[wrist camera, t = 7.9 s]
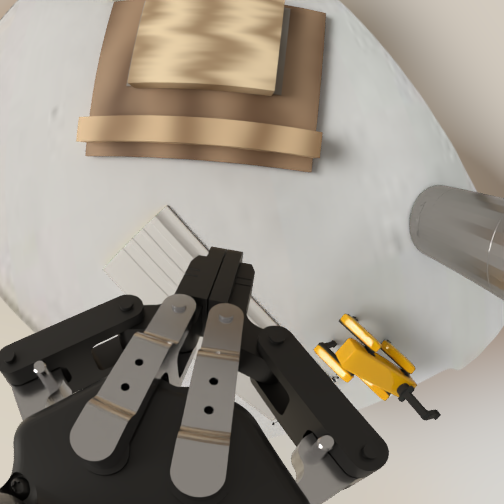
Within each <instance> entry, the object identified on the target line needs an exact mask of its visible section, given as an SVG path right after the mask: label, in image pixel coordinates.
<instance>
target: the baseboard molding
mask: <svg viewBox="0 0 504 504" xmlns="http://www.w3.org/2000/svg"><path fill="white" fill-rule="evenodd" d="M208 253H209V251H208V250H207V249H206V248H205V247H204V246H203V245H202V243H201V242H200V241H199V240H198V239H197V238H196V237H195V236H194V235H193V234H192V232H191V231H190V230H189V229H188V228H187V227H186V226H185V225H184V224H183V222H182V221H181V220H180V219H179V218H178V217H177V216H176V215H175V214H174V212H173V211H172V210H171V209H170V208H169V207H168V206H166V207H164V208H163V209H162V210H161V211H160V212H159V213H158V214H157V215H156V216H155V217H154V218H153V219H152V220H150V221H149V222H148V223H147V224H146V225H145V226H144V227H143V228H142V229H141V230H140V231H139V232H138V233H137V234H136V235H135V236H134V237H133V238H132V239H131V240H130V241H129V242H128V243H127V244H126V245H125V246H124V247H123V248H122V249H121V250H120V251H119V252H118V253H117V254H116V255H115V256H114V257H113V258H112V259H111V260H110V262H109V263H108V264H107V265H106V266H105V267H104V268H103V269H102V270H103V271H104V272H105V273H106V274H107V275H108V276H109V277H110V278H111V279H112V281H113V282H114V283H115V284H116V285H117V286H118V287H119V288H120V289H121V290H122V291H123V292H124V293H125V294H126V295H134V296H137V297H139V298H140V299H141V300H142V302H143V305H158V304H162V303H163V301H164V300H165V299H166V298H167V297H169V296H171V295H174V294H175V292H176V290H177V288H178V286H179V284H180V282H181V280H182V278H183V276H184V275H185V272H186V270H187V269H188V266H189V264H190V262H191V260H193V259H194V258H195V257H197V256H198V255H202V256H207V255H208ZM247 317H248V319H249V320H250V321H251V322H252V323H253V324H255V325H256V326H258V327H260V328H263V329H264V328H265V327H268V326H278V325H277V324H276V323H275V322H274V321H273V320H272V318H271V317H270V316H269V315H268V314H267V313H266V312H265V311H264V310H263V309H262V308H261V307H260V306H259V305H258V304H257V303H256V302H255V301H254V300H253V298H252V297H251V298H250V303H249V307H248V312H247ZM202 340H203V337H200V338H199V340H198V343H197V349H196V352H195V355H194V357H193V359H194V360H196V356H197V352H198V350H199V349H201V345H202ZM338 378H339V377H338ZM338 378H337V379H338ZM332 379H333V381H334V380H335V378H334V376H333V378H332ZM335 382H336V380H335ZM235 394H237V395H238V396H239V397H240V398H242V399H243V400H244V401H246V402H247V403H248V404H250V405H251V406H252V407H253V408H255V409H256V410H257V411H259V412H260V413H261V414H263V415H264V416H266V417H267V418H268V419H270V420H271V421H273V420H274V419H276V418H275V416H274V415H273V414H272V412H271V411H270V409H269V408H268V406H267V405H266V404H265V402H264V401H263V399H262V398H261V396H260V395H259V393H258V392H257V390H256V389H255V388H254V386H253V385H252V383H251V381H250V377H248V376H246V375H244V374H242V373H240V372H238V375H237V383H236V392H235ZM277 422H278V421H277ZM275 423H276V422H275ZM275 423H274V422H273V424H272V425H274V424H275Z"/></svg>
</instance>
